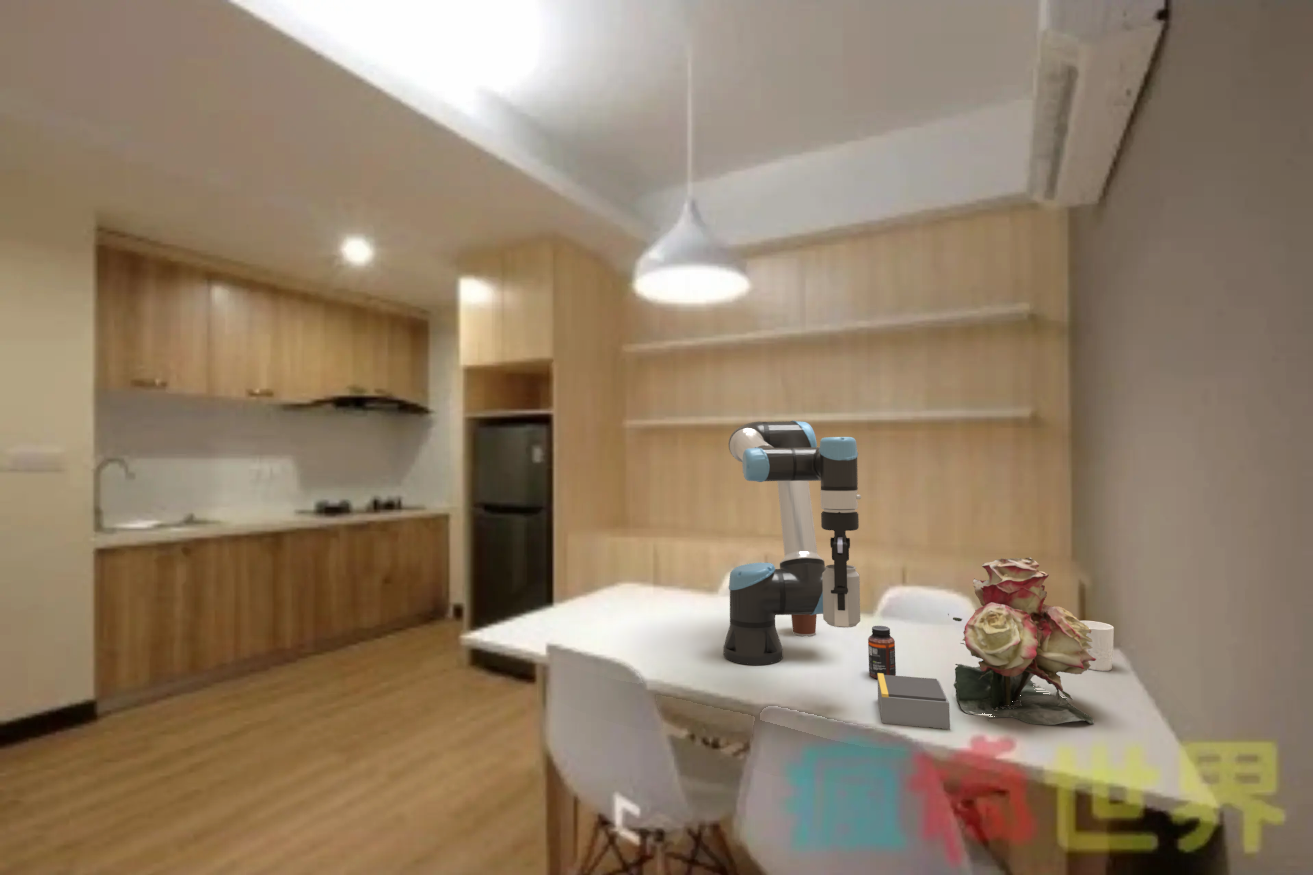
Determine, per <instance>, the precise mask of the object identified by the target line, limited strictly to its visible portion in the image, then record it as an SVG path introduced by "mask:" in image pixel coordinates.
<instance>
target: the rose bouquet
mask: <svg viewBox="0 0 1313 875" xmlns="http://www.w3.org/2000/svg"><path fill="white" fill-rule="evenodd" d="M981 567H982V568H983V569H985V571H986V573H987V576H988V579H986V580H982V579H976V578H973V581H972V583H973V588H974V593H975V594H974V595H975V597H977V598H978V600H979V602H980V604H981V606H980V607H979V608H977V609H975V611H974V612H973V613H972V615H971V617H970V618H969V619H968V621H967V622H966V624H965V626H964V630H963V631H962V632H963V635H964V636H963V638H962V641H964V642H960V645H964V646H965V647H966V649H967V650H968V651H969V652H970V655H971V656H972V657H975V658H977V659H981V660H979V661H978V662H977V663H978V666H971V665H970V666H969V665H967V664H961V663H955V664H954V665H955V666H956V667H954V672H955V675H954V676H955V680H954V684H953V686H954V688H955V697H956V701H957V703H958V705H959V706H960V709H961V710H962V711H963V712H964V713H966V714H968V715H973V714H982V713H983V714H984V713H985V714H992V715H991V716H993V717H991V718H989V716H990V715H989V716H988V719H987V722H989V719H995V718H1009V717H1011V718H1015V719H1017V720H1020V721H1022V722H1025V723H1028V724H1032V725H1044V726H1045V725H1050V726H1051V725H1052V726H1053V725H1058V724H1063V723H1069V722H1079V721H1084V722H1086V723H1087V724H1091V725H1095V723H1094V718H1093V717H1092V716H1091V715H1090V714H1087V713H1085V712H1083V711H1082V710H1080V709H1079V708H1077V707H1075V706H1074V705H1073V704H1071V703H1070V702H1069V701H1068V699H1069V700H1071V701H1073V698H1072V696H1071V695H1070V694H1069V693H1068V692H1066V691H1065V690H1064V688H1063V685H1062V680H1061V676H1060V675H1059V674H1057V673H1059V672H1060V673H1067V674H1073V675H1082V674H1083V673H1084V672H1086V671H1088V670H1089V669H1088V668H1089V667H1090V666H1091V665H1090V664H1089V662H1088V661H1095V660H1096V659H1095V658H1093V657H1092V656H1091V655H1089V653H1088V651H1087V649H1090V648H1092V647H1091V646H1090V645H1089V644H1088V643H1087V642H1092V639H1091V638H1089V637H1087V636H1086V635H1087V633H1091V630H1090V629H1089V628H1088V626H1087V625H1085V624H1084V623H1082V622H1080V621H1081V620H1079V619H1078V617H1076V616H1074V613H1073V612H1071V611H1068V610H1067V609H1066V608H1064V607H1062V606H1057V605H1056V606H1055V605H1048V604H1045V603H1044V602H1045V600H1046V598H1047V597H1048V596H1047V595H1048V592H1047V591H1046V590H1045V588H1046V587H1045V585H1044V582H1045V581H1046V579H1047V578H1048V577H1049V575H1050V574H1049V573H1046V572H1045V571H1042V570H1038V568H1039V567H1040V563H1038V562H1037V561H1036V560H1035V559H1034V558H1032V557H1031V556H1029V557H1024V559H1023V558H1022V557H1020V558H1019V557H1014V558H1002V557H1001V558H1000V559H995V560H994V561H988V562H983V563H982V565H981ZM947 615H948V617H949V616H950V613H947ZM952 620H954V621H955V622H962V620H963V618H961V617H955V616H953V617H952ZM1034 676H1037V677H1038V678H1040V679H1042V680H1045V681H1046V683H1047V684H1048V685H1052V686H1053V687H1054V688H1055V689H1056V692H1055V694H1050V695H1049V694H1043V693H1049V692H1050V691H1049V692H1036V691H1048V690H1047V689H1045V690H1036V689H1035V688H1042V687H1041V686H1040V687H1033V686H1035V685H1036V683H1035V682H1033V681H1032V680H1031V679H1032V678H1034ZM1034 689H1035V690H1034ZM1060 693H1061V694H1063V695H1061V694H1060ZM1020 695H1021V696H1020ZM1060 695H1061V696H1063V697H1067V698H1062V697H1061V696H1060ZM1066 699H1067V700H1066ZM1012 701H1013V702H1012ZM1014 701H1015V702H1018V701H1019V702H1020V701H1021V702H1020V704H1019V705H1018V706H1016V707H1014V706H1015V703H1014ZM995 709H996V710H997V711H994V710H995ZM994 716H995V717H994Z"/></svg>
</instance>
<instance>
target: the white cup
mask: <svg viewBox="0 0 1313 875" xmlns="http://www.w3.org/2000/svg"><path fill="white" fill-rule="evenodd" d="M1079 621H1080V622H1082V623H1084V624H1085V625H1087V626H1088V628H1089V629H1090V630H1091V633H1087V635H1086V636H1087V637H1089V638H1091V639H1092V642H1087V643H1088V644H1089V645H1090V646H1091V647H1092V648H1090V649H1087V651H1088V653H1089V655H1091V656H1092V657H1093V658H1095V659H1096V660H1095V661H1088V662H1089V664H1090V665H1091V666H1090V667H1089V668H1088V670H1093V671H1097V672H1098V671H1100V672H1108V671H1111V670H1113V657H1114V635H1115V634H1114V633H1115V632H1114V631H1115V627H1114V626H1113V625H1111V624H1109V623H1105V622H1101V621H1093V620H1079Z"/></svg>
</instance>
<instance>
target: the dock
mask: <svg viewBox="0 0 1313 875" xmlns="http://www.w3.org/2000/svg"><path fill="white" fill-rule="evenodd" d="M877 676H878V679H877V704H878V706H879V712H880V718H881V723H882V724H889V725H899V726H908V727H918V726H919V728H929V727H933V728H932V729H940V728H942V729H943V730H951V727H950V726H951V724H950V722H951V721H950V718H951V717H950V702H949V699H948V697H947V695H946V693H945V691H944V689H943V687H942V685H941V682H940V680H938V679H937V678H933V677H932V678H929V677H917V676H906V675H905V676H904V675H903V676H902V675H896V676H893V675H884V674H883V673H877ZM942 729H941V730H942Z"/></svg>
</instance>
